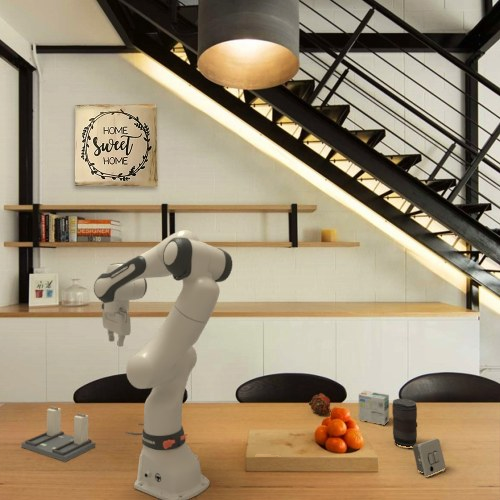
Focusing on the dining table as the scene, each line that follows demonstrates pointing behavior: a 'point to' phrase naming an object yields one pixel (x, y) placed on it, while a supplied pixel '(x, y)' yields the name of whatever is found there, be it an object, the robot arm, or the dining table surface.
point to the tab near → (80, 428)
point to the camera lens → (404, 422)
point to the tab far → (53, 421)
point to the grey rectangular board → (57, 446)
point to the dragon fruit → (320, 404)
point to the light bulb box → (374, 407)
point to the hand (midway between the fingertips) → (115, 343)
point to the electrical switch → (429, 456)
